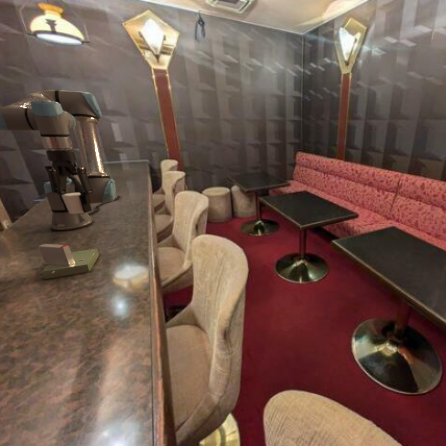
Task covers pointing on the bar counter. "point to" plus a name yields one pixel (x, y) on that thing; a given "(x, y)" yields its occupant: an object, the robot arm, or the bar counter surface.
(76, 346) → the bar counter surface
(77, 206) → the white cylinder
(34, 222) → the bar counter surface
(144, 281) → the bar counter surface
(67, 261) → the white flat box
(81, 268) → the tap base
